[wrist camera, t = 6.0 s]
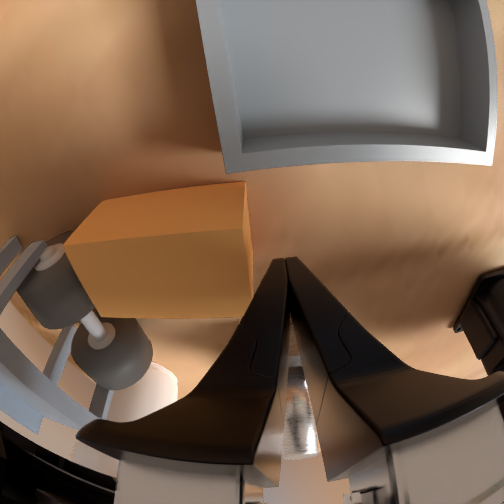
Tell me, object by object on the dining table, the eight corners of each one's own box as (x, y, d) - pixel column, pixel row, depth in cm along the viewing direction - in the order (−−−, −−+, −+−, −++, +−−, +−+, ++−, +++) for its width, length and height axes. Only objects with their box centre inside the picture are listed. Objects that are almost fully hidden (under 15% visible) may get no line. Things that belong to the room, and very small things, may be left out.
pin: (305, 338, 18) (320, 450, 11) (305, 356, 19) (317, 456, 13) (270, 342, 18) (275, 455, 11) (273, 359, 19) (278, 461, 13)
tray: (451, -3, 5) (484, -8, 3) (460, 147, 10) (491, 165, 8) (201, -27, 6) (188, -51, 4) (231, 153, 10) (225, 174, 8)
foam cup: (82, 357, 21) (47, 474, 10) (132, 333, 18) (91, 503, 7) (153, 400, 25) (137, 504, 15) (215, 387, 22) (207, 521, 12)
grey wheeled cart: (100, 209, 12) (-12, 382, 4) (163, 336, 18) (137, 470, 10) (8, 235, 13) (-69, 342, 5) (72, 333, 18) (34, 433, 10)
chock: (245, 180, 11) (242, 228, 8) (253, 255, 14) (253, 316, 10) (103, 199, 12) (62, 245, 8) (127, 263, 14) (101, 317, 11)
